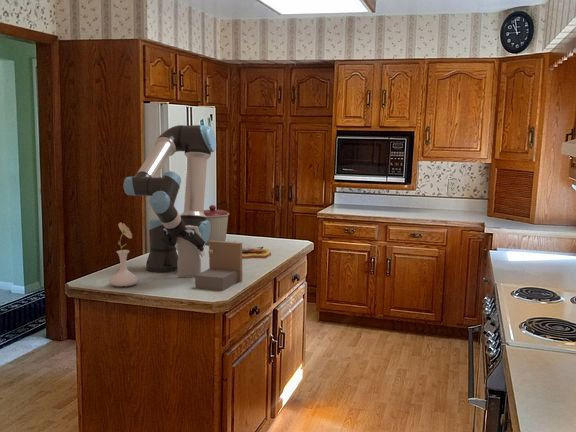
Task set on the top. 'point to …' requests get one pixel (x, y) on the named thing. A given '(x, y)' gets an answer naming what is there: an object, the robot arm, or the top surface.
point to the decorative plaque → (254, 252)
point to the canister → (217, 223)
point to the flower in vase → (123, 263)
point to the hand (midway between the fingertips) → (192, 253)
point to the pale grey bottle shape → (188, 256)
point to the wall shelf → (222, 266)
